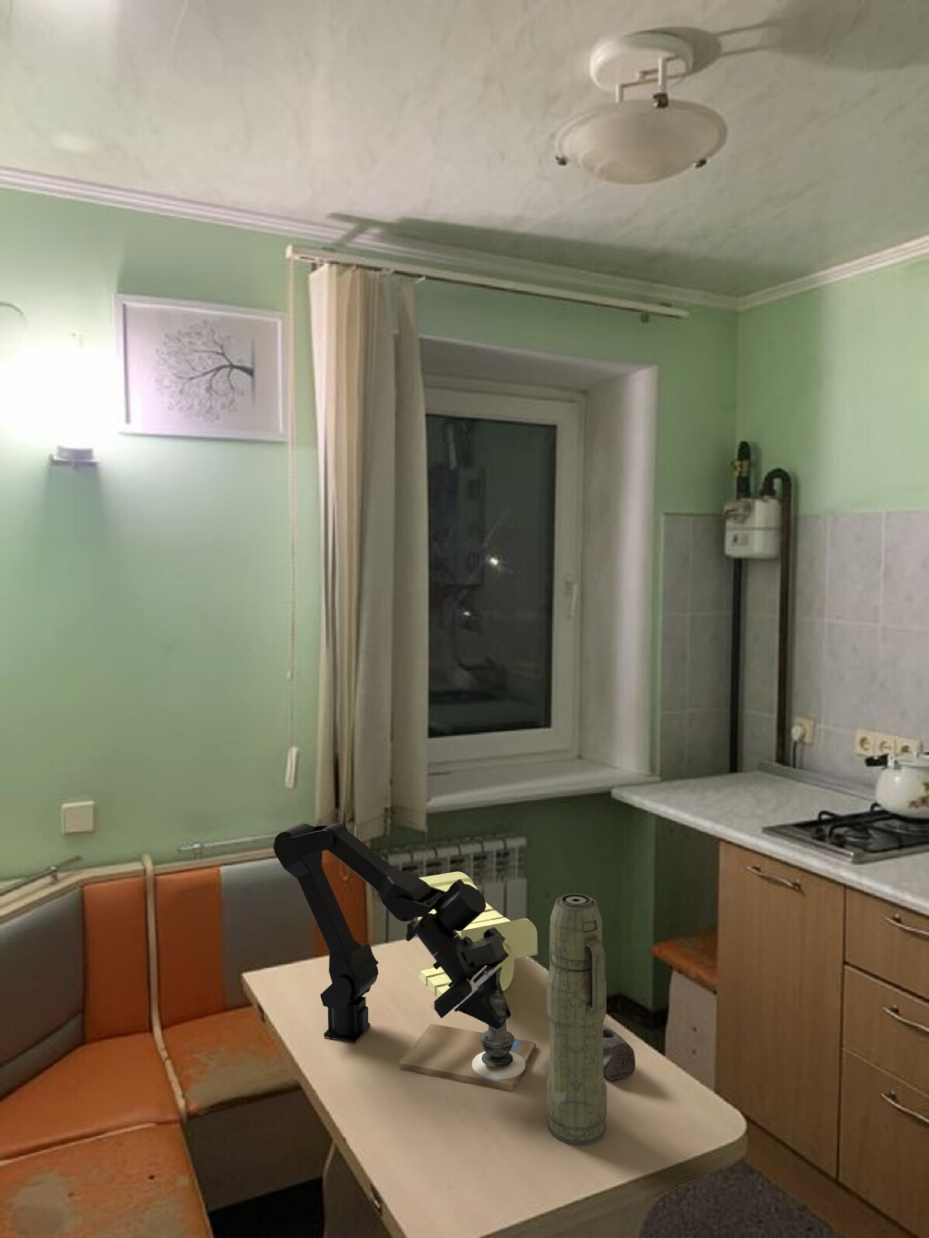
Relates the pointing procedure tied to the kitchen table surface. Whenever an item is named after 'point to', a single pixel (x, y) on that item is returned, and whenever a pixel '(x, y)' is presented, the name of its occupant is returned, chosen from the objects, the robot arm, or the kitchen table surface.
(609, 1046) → the perforated stone tool
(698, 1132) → the kitchen table surface
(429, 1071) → the board
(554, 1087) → the thermos
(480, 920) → the slatted curved stool
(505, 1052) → the dark grey chess piece
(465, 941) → the robot arm
